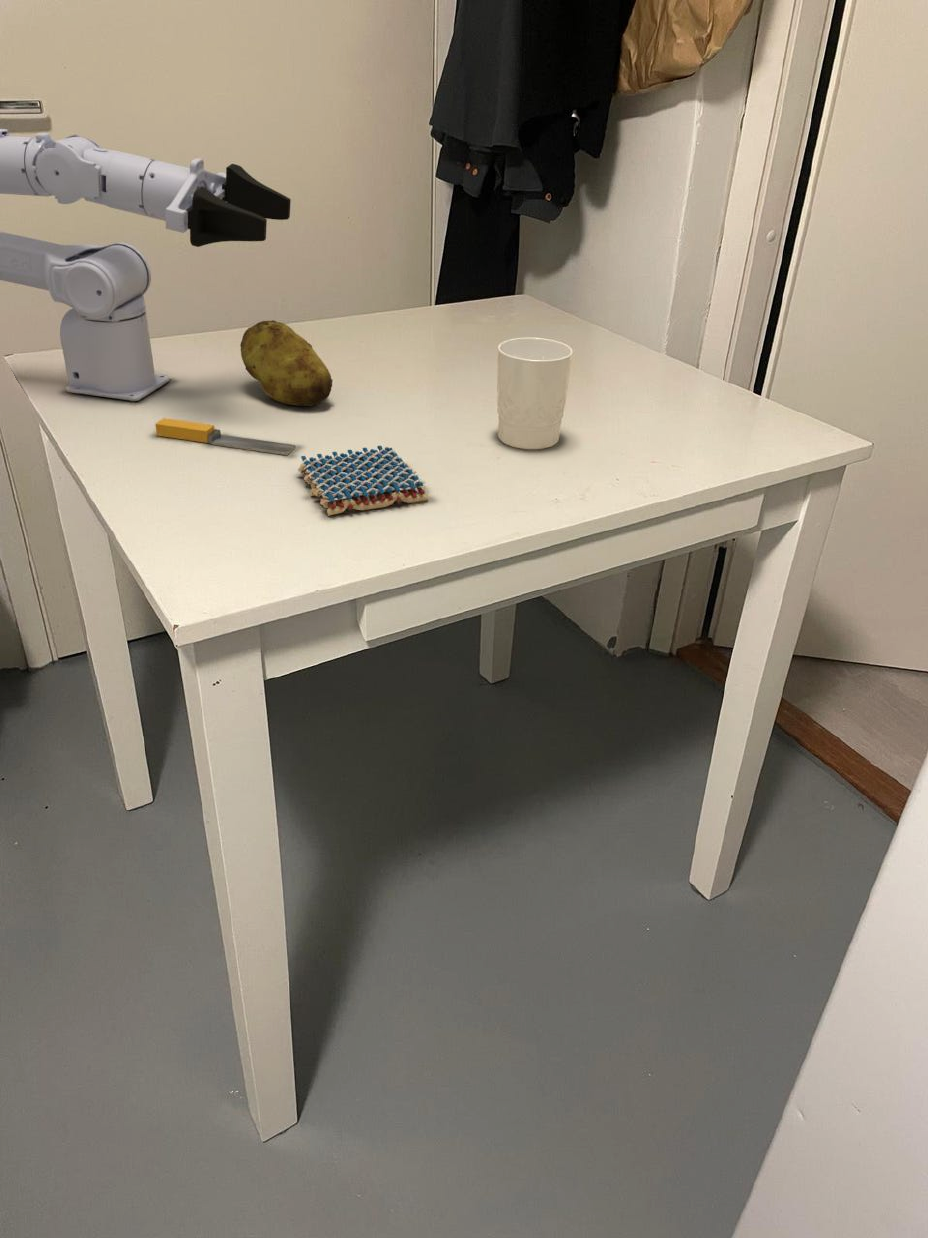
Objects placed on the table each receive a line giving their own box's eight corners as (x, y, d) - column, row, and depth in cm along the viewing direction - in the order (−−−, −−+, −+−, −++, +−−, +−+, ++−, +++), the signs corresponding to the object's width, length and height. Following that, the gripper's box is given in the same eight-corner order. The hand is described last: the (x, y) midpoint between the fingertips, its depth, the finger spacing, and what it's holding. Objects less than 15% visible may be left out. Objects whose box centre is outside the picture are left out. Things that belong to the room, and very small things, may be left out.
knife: (155, 436, 103) (153, 424, 102) (166, 429, 105) (164, 416, 104) (287, 455, 100) (286, 442, 99) (295, 447, 102) (294, 435, 101)
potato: (270, 419, 108) (264, 348, 104) (236, 383, 117) (230, 317, 113) (339, 409, 111) (336, 340, 107) (301, 374, 121) (297, 310, 116)
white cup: (571, 431, 108) (580, 343, 103) (553, 457, 102) (562, 364, 97) (504, 420, 110) (510, 333, 105) (483, 445, 104) (488, 354, 99)
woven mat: (326, 520, 88) (325, 500, 87) (295, 473, 96) (294, 455, 95) (431, 503, 92) (432, 483, 91) (393, 460, 100) (393, 441, 99)
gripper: (121, 166, 94) (255, 199, 93) (181, 133, 105) (301, 162, 104) (124, 238, 98) (252, 270, 98) (182, 199, 109) (297, 228, 109)
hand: (277, 219), depth 101 cm, fingers open, 7 cm apart
